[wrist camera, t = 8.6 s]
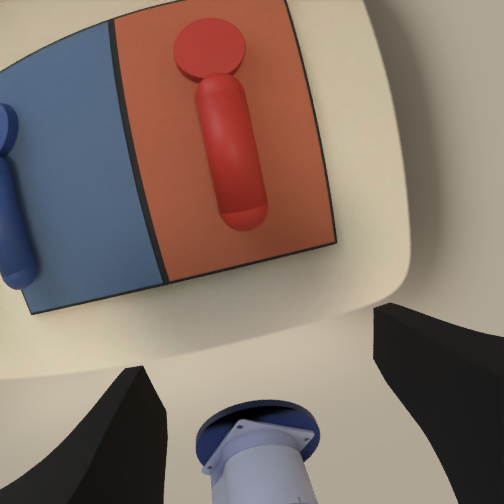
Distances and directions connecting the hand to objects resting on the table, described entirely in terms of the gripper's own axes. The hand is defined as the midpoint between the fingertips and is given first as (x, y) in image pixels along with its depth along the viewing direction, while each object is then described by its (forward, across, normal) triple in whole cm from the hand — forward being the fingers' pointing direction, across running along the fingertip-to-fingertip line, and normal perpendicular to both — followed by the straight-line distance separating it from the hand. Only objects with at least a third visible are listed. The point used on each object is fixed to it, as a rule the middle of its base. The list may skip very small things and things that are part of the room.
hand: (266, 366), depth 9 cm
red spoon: (+9, -1, -8) cm, 12 cm away
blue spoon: (+9, +12, -8) cm, 17 cm away
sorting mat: (+10, +4, -8) cm, 13 cm away
